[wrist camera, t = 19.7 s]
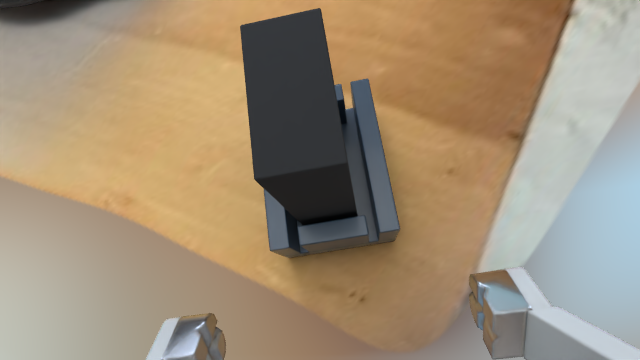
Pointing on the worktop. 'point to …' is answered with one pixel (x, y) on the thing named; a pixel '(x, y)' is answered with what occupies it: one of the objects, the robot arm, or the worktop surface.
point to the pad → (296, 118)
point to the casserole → (16, 3)
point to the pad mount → (368, 186)
